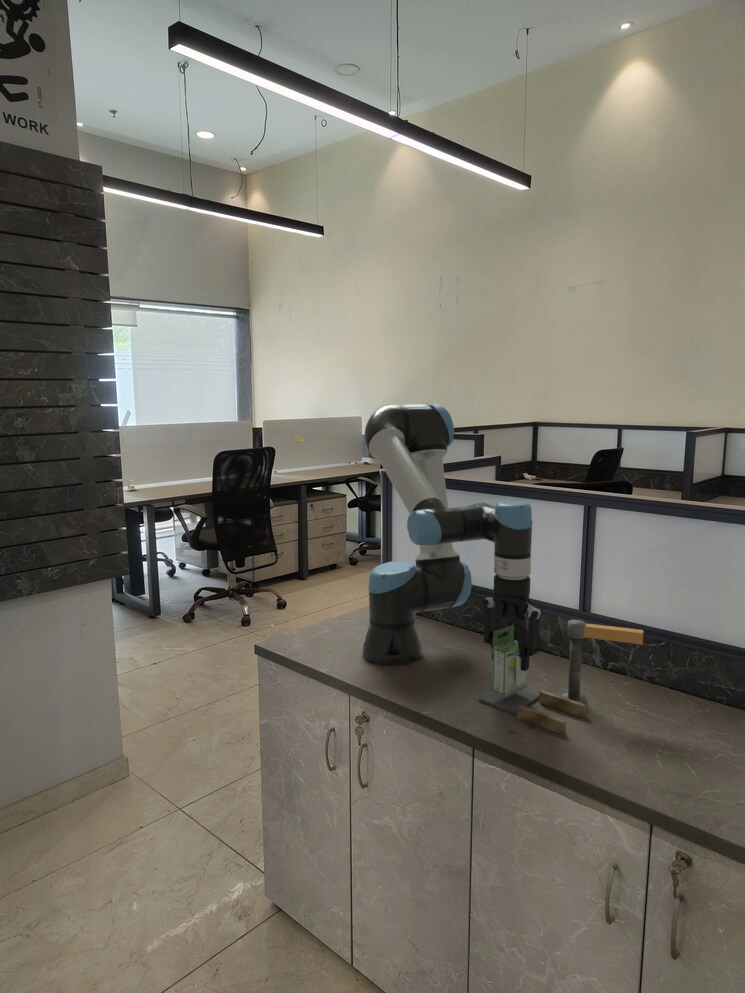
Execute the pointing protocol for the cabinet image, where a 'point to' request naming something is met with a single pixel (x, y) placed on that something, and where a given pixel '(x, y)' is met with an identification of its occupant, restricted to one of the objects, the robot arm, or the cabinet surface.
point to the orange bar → (603, 632)
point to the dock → (568, 701)
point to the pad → (509, 700)
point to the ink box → (505, 663)
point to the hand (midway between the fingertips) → (509, 679)
